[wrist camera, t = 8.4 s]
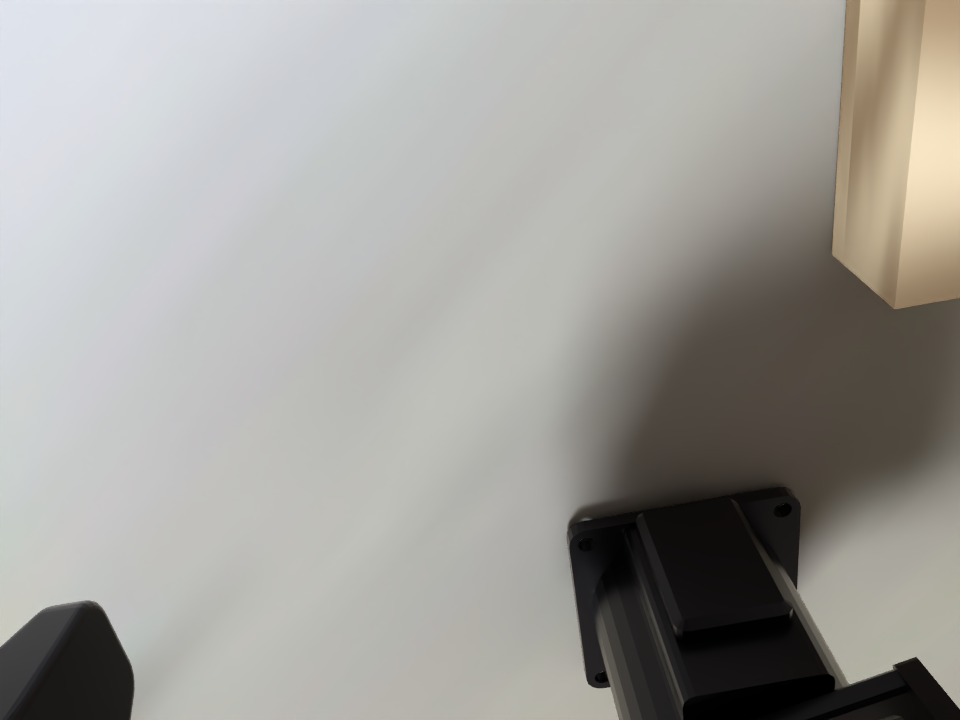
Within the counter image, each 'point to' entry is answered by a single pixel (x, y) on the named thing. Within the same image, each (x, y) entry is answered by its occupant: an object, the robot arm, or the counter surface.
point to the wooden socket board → (900, 150)
